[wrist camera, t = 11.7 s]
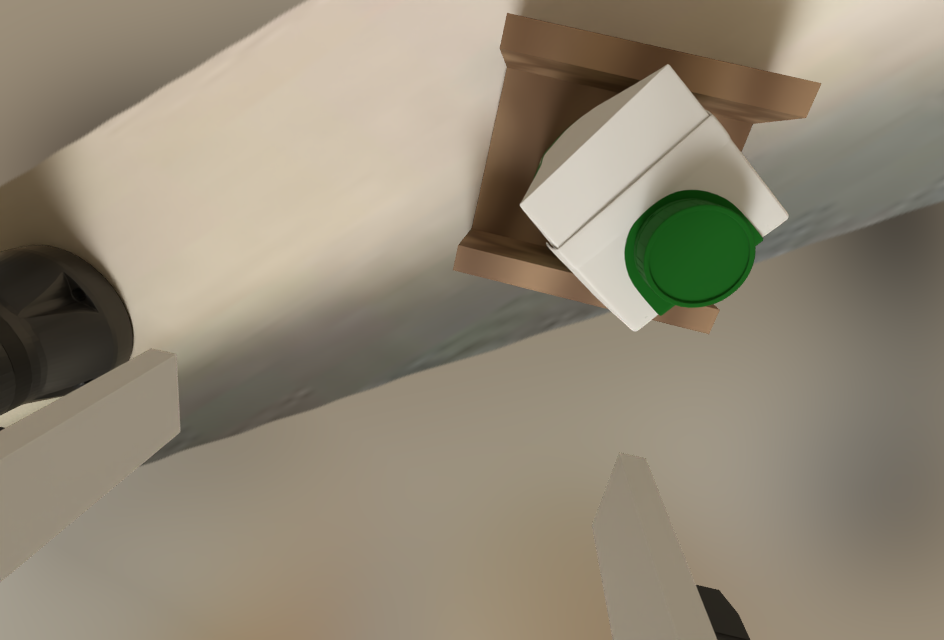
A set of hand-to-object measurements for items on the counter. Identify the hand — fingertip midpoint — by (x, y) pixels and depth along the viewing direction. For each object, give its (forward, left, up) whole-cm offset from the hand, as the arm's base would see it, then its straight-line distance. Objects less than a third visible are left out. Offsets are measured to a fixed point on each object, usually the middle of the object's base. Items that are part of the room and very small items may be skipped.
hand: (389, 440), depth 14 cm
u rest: (+7, +8, -28) cm, 30 cm away
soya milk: (+7, +7, -27) cm, 29 cm away
